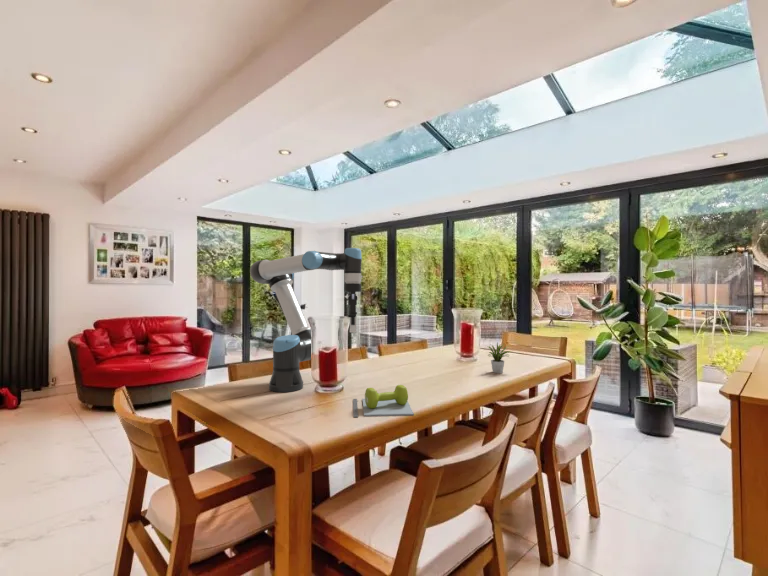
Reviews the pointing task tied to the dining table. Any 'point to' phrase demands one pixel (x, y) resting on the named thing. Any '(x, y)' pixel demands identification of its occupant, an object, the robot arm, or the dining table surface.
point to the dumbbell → (386, 396)
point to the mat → (387, 409)
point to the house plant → (497, 358)
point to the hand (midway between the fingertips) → (352, 330)
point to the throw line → (355, 408)
